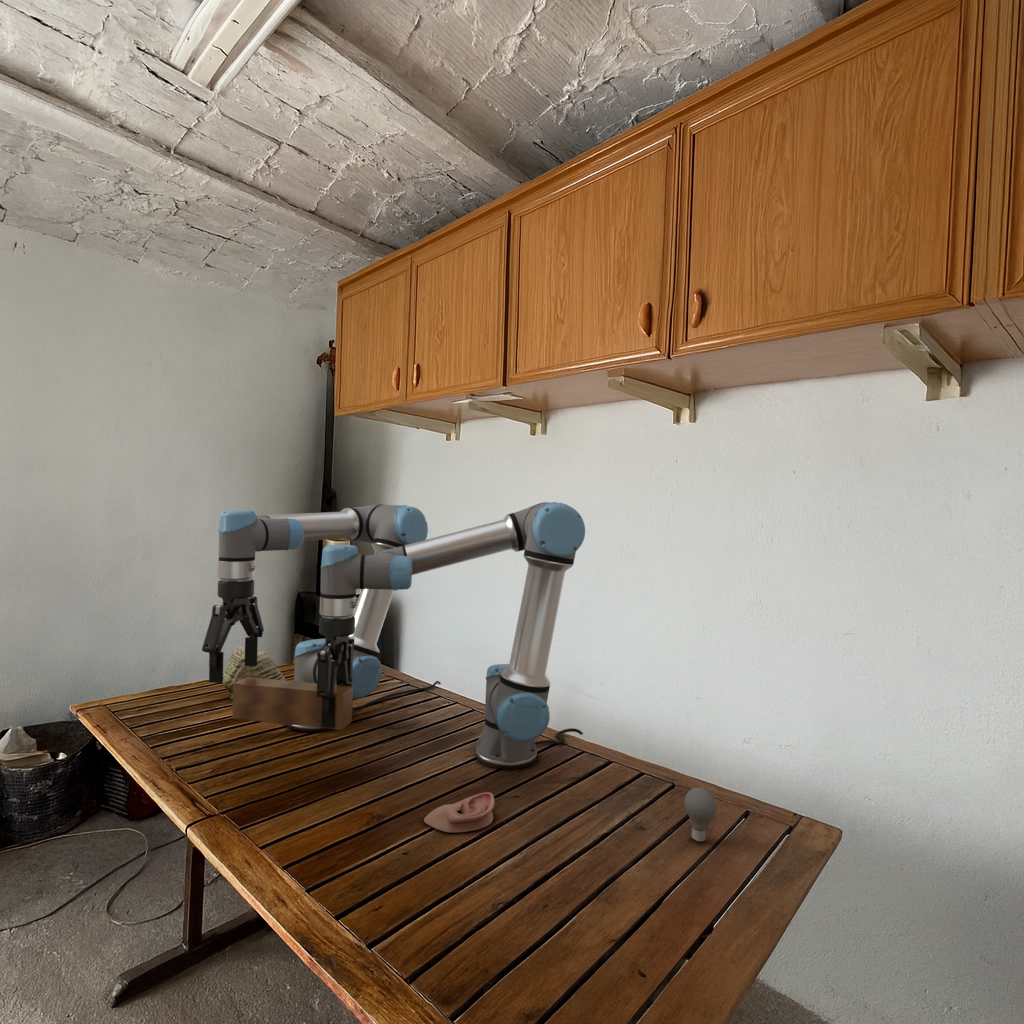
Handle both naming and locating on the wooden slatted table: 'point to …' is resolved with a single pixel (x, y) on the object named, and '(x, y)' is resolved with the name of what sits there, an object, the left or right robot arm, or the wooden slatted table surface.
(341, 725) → the bar
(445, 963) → the wooden slatted table surface
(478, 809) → the anatomical model
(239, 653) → the fossil
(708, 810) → the light bulb
